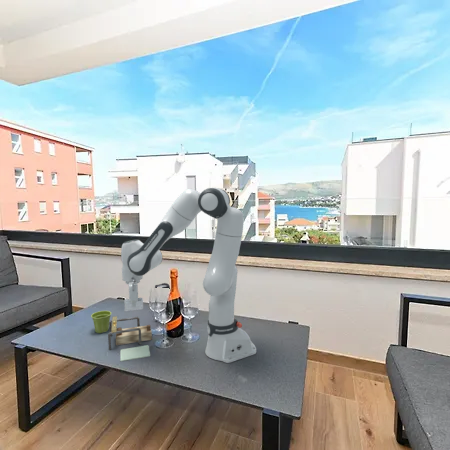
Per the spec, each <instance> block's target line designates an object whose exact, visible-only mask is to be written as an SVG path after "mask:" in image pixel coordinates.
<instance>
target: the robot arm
mask: <svg viewBox="0 0 450 450" xmlns="http://www.w3.org/2000/svg"><path fill="white" fill-rule="evenodd" d="M230 198H231V197H230V195H229V193H228V192H227V191H226V190H224V189H222V188H220V187H208V188H206V189H204V190H203V191H201V192H199V191H198V190H196V189H193V188H188V189H185V190H184V191H183V192H182V193H181V194H180V195H178V197H177V198H176V199H175V200H174V202H173V204H171V206H170V207H169V209H168V210H167V212H166V213H165V215H164V216H163V217H162V219H161V221H160V222H159V224H158V225H157V227H156V228H155V229H154V230H153V231H152V232H151V234H150V236H148V238H147V239H146V241H144V243H143V242H142V241H141V240H140V239H132V240H126V241H124V242H123V243H122V245H121V251H120V254H121V255H120V257H121V263H122V268H121V277H122V281H123V282H125V284H126V285H128V299H129V301H130V302H132V307H136V301H138V298H139V289H138V284H140V283H141V280H143V279H144V277H143V276H145V275H146V274H147V273H149V272H150V271H152V270H154V269H155V268H157V267H159V265H161V264H162V262H163V254H162V251H161V250H160V249H161V248H162V247H163V245H164V244H165V243H166V242H168V241H169V240H170V239H172V238H173V237H175V236H177V235H178V234H180V233H182V232H184V231H185V230H186V229H187V228H188V227H189V226H190V225H191V223H193V221H194V220H195V219H196V216H198V215H199V213H201V212H203V213H204V214H206V215H208V216H210V217H211V218H213V219H214V220H215V219H216V221H217V223H216V232H215V235H214V236H215V237H214V242H213V248H212V252H211V255H210V258H209V261H208V265H207V268H206V272H205V275H204V277H203V280H202V288H203V290H204V291H205V293H206V294H207V295H209V296H210V297H209V301H208V320H207V334H208V338H207V343H206V347H205V351H204V353H205V355H206V356H207V357H208V358H210V359H212V360H215V361H219V362H220V361H221V362H224V363H226V364H231V363H233V362H236V361H239V360H241V359H245V358H249V357H250V356H253V355H256V354H257V347H256V345H255V344H254V342H252V341H251V337H250V335H249V334H248V333H247V332H246V331H245V330H244V329H242V327H243V324H242V323H241V322H240V321H238V319H236V318H235V300H236V290H237V280H238V268H237V266H236V263H237V260H238V257H239V254H240V248H241V244H242V237H243V232H244V213H243V212H242V211H241V210H240V209H239V208H236V207H233V206H231V205H230V202H231V199H230Z"/></svg>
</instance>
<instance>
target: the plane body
mask: <svg viewBox="0 0 450 450" xmlns="http://www.w3.org/2000/svg"><path fill="white" fill-rule="evenodd" d="M133 320H136V321H137V326H135V327H134V326H133V327H128V328H122V327H117V331H116V332H113V333H112V320H109V333H108V334H107V340H108V341H107V343H108V345H107V346H108V351H111V350H112V337H113V335H115V346H120V345H126V344H127V345H128V344H134V343H138V345H139V346H140V345H141V346H142V342H145V341H152V340H153V339H152V338H153V333H152V329H151V325H150V324H146V325H140V323H141V322H140V317H139V316H133V317H126V318H120V319H119V318H117V323H119V322H124V321H133Z"/></svg>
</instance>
